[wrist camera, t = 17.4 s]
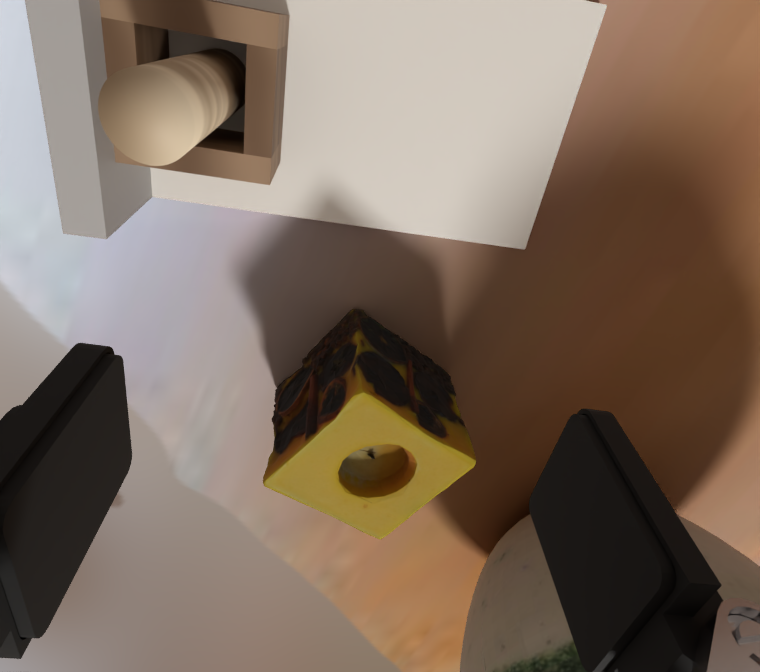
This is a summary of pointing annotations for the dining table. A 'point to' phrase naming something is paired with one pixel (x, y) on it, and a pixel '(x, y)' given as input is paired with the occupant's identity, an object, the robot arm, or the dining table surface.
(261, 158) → the brown square wooden frame
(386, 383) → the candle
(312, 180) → the board
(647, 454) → the dining table surface
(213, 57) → the dowel
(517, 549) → the vase
